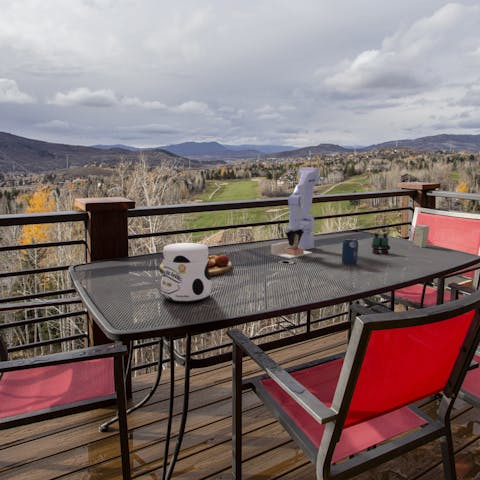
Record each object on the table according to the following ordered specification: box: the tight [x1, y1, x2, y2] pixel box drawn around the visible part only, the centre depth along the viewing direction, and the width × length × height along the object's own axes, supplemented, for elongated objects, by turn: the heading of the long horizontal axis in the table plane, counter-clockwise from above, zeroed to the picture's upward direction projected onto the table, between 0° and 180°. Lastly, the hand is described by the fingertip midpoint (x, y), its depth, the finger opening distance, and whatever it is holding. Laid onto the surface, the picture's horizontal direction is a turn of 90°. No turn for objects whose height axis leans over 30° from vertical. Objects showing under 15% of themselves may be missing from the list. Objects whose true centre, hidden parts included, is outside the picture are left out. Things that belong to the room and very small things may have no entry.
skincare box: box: [413, 224, 430, 248], centre depth 231 cm, size 6×4×12 cm
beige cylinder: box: [290, 235, 298, 249], centre depth 208 cm, size 4×4×7 cm
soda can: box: [341, 237, 359, 266], centre depth 189 cm, size 7×7×12 cm
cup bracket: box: [270, 241, 313, 259], centre depth 209 cm, size 18×12×5 cm
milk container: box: [160, 242, 212, 303], centre depth 139 cm, size 17×17×18 cm
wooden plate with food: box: [158, 254, 233, 277], centre depth 180 cm, size 32×32×8 cm
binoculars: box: [371, 232, 391, 256], centre depth 212 cm, size 9×11×10 cm
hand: (294, 244), depth 208 cm, fingers closed on beige cylinder, 4 cm apart
